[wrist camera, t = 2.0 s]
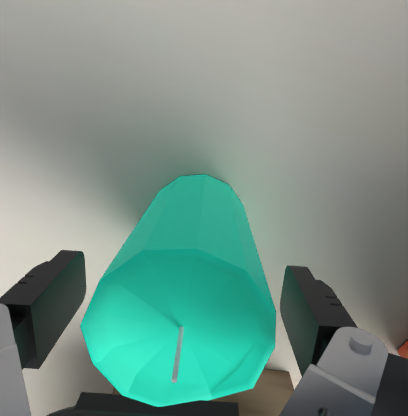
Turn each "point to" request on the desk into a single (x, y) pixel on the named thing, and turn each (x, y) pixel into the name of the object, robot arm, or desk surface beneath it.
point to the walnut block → (261, 395)
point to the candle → (184, 301)
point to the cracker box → (403, 350)
